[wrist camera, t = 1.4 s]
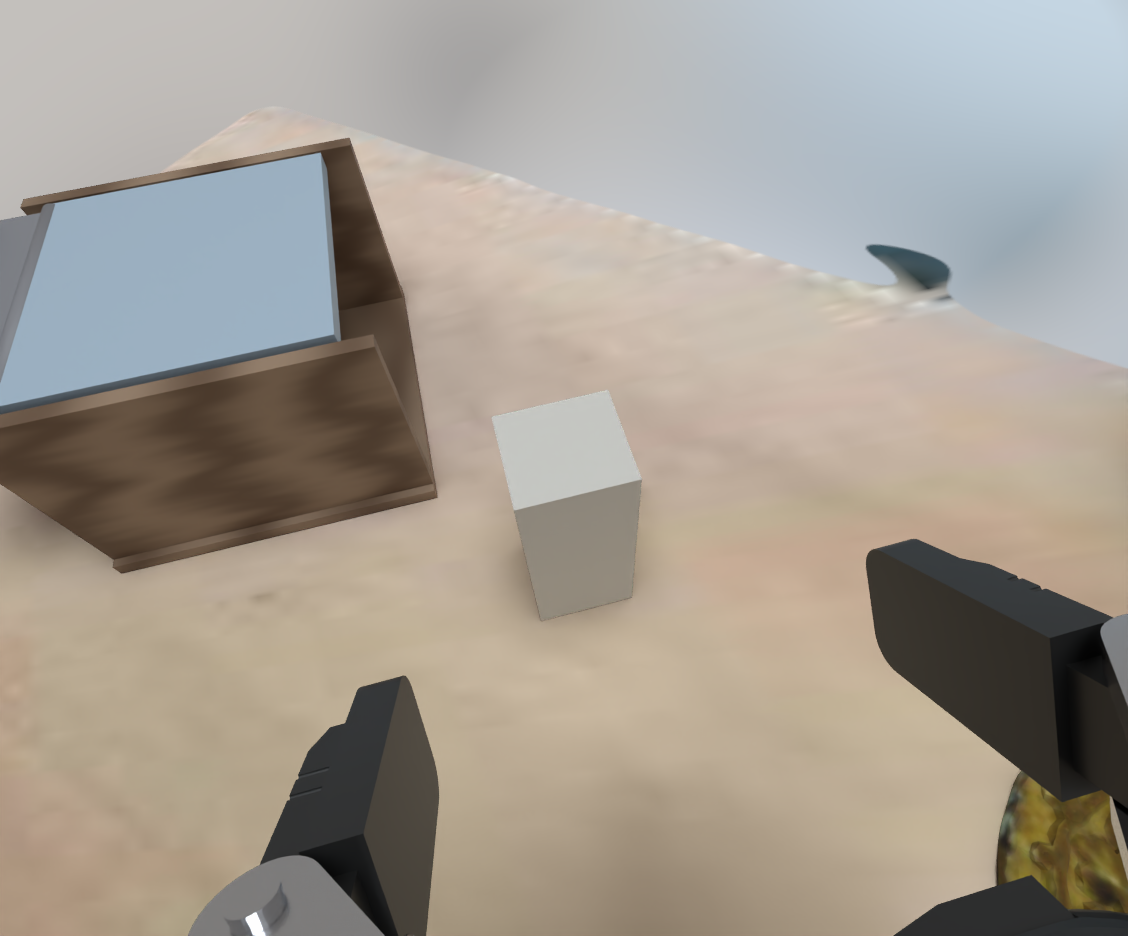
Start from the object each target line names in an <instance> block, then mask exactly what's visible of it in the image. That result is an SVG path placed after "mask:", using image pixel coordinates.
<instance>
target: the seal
mask: <svg viewBox="0 0 1128 936" xmlns="http://www.w3.org/2000/svg"><path fill="white" fill-rule="evenodd" d="M997 865H998V885H1001V884H1004V883H1007V882H1011V881H1014V880H1017V879H1020V878H1023V877H1026V876H1030V875H1032V876H1033V877H1034V878H1035V879H1036V880H1037V881H1038V882H1039V883H1040V884H1041V885H1042V886H1044V887H1045V888H1046V889H1047V890H1048V891H1049V892H1050V893H1051V894H1052V895H1053V896H1054V897H1055V898H1056V899H1057V900H1058V901H1059V902H1060V903H1061V904H1062V905H1063V906H1064V907H1065V908H1066V909H1088V910H1106V911H1114V912H1121V913H1128V880H1127V876H1126V872H1125V869H1124V865H1123V862H1122V858H1121V854H1120V851H1119V847H1118V844H1117V840H1116V836H1115V833H1114V829H1113V826H1112V822H1111V812H1110V795H1108V794H1107V793H1105V792H1104V791H1103V790H1100V791H1097V792H1094V793H1090V794H1087V795H1084V796H1081V797H1078V798H1074V799H1071V800H1068V801H1065V802H1061V801H1060V800H1058V799H1057V798H1056V797H1055V796H1053V795H1052V794H1051V793H1049V792H1048V791H1047V790H1046V789H1044V788H1043V787H1042V786H1041V785H1039V784H1038V783H1037V782H1035V781H1034V780H1033V779H1032V778H1030V777H1029V776H1028V775H1027V774H1025V773H1024V772H1023V771H1021V772H1020V773H1019V775H1018V777H1017V779H1016V780H1015V782H1014V785H1013V788H1012V790H1011V793H1010V797H1009V800H1008V803H1007V807H1006V810H1005V813H1004V816H1003V820H1002V824H1001V828H1000V833H999V839H998V854H997Z"/></svg>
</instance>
